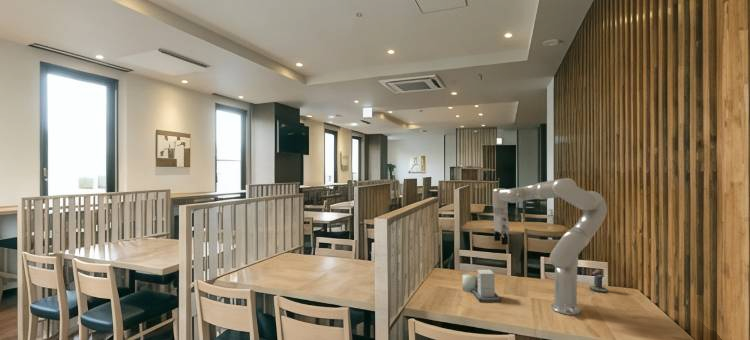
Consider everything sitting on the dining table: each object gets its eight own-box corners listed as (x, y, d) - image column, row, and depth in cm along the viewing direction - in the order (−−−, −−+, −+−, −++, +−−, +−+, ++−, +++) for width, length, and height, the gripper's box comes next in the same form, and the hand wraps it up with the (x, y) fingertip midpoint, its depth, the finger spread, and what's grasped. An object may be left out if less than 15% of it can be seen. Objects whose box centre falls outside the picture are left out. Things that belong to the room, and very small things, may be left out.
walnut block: (483, 287, 207) (483, 279, 207) (475, 288, 205) (475, 280, 205) (477, 285, 212) (477, 276, 212) (470, 286, 210) (470, 277, 210)
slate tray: (500, 301, 186) (500, 298, 186) (479, 302, 185) (479, 298, 185) (491, 292, 200) (491, 288, 200) (471, 292, 199) (471, 289, 199)
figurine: (604, 294, 196) (604, 272, 196) (587, 290, 202) (587, 268, 202) (609, 290, 202) (609, 269, 202) (591, 286, 208) (592, 265, 208)
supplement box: (491, 292, 196) (491, 269, 196) (494, 297, 189) (494, 273, 189) (477, 292, 197) (477, 269, 196) (480, 297, 189) (480, 273, 189)
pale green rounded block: (476, 292, 200) (476, 277, 200) (464, 292, 200) (464, 277, 200) (473, 287, 207) (473, 273, 207) (461, 287, 207) (461, 274, 207)
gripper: (514, 212, 187) (514, 245, 187) (500, 209, 205) (501, 239, 205) (500, 213, 187) (500, 246, 187) (487, 209, 204) (488, 239, 204)
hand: (500, 242), depth 196 cm, fingers open, 9 cm apart
